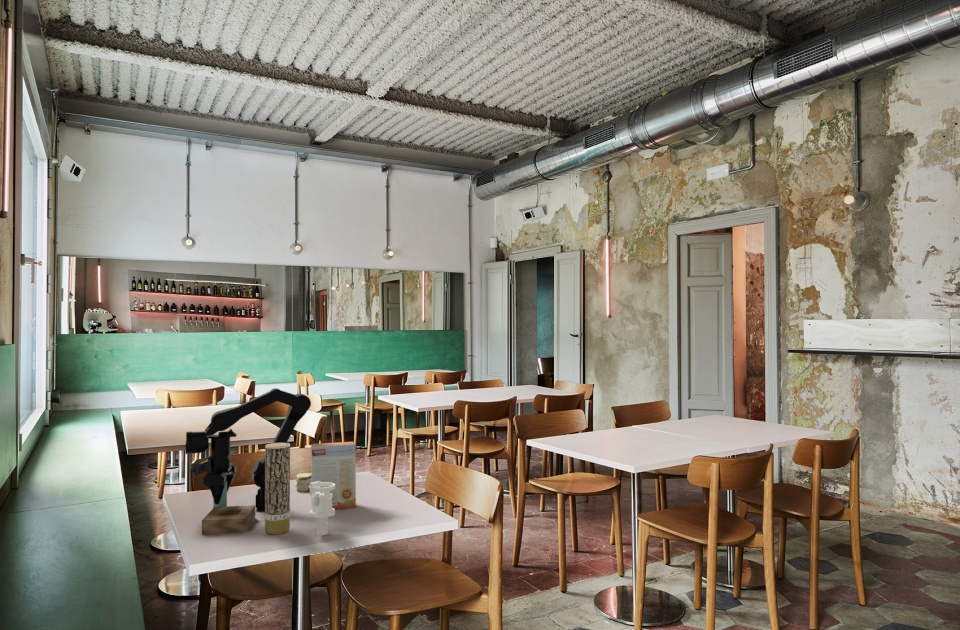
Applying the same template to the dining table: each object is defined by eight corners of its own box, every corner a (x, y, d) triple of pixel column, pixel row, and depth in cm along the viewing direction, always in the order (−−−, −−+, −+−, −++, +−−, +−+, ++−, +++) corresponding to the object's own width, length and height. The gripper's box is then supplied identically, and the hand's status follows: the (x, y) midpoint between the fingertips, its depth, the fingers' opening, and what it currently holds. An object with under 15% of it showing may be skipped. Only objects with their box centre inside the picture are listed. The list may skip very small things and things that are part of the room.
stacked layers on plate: (312, 493, 231) (312, 478, 232) (288, 493, 232) (288, 478, 232) (320, 486, 241) (320, 472, 242) (297, 486, 242) (297, 471, 242)
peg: (228, 511, 207) (228, 480, 207) (225, 515, 203) (225, 483, 203) (215, 512, 206) (215, 480, 207) (211, 516, 202) (211, 483, 203)
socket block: (255, 518, 200) (255, 505, 200) (245, 532, 186) (245, 518, 186) (214, 520, 198) (214, 507, 198) (201, 534, 184) (201, 520, 184)
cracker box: (353, 503, 217) (353, 440, 217) (356, 507, 211) (356, 443, 212) (310, 506, 213) (310, 443, 213) (311, 511, 207) (312, 446, 207)
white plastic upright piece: (305, 533, 185) (305, 480, 185) (328, 528, 189) (328, 477, 189) (315, 539, 179) (315, 485, 179) (339, 534, 183) (339, 481, 184)
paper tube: (260, 531, 186) (261, 444, 187) (282, 526, 191) (282, 441, 191) (271, 537, 181) (272, 447, 182) (293, 531, 186) (294, 444, 187)
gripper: (201, 447, 213) (201, 494, 213) (184, 458, 195) (184, 510, 194) (237, 446, 215) (237, 493, 214) (223, 456, 196) (223, 508, 196)
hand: (220, 500), depth 205 cm, fingers open, 8 cm apart
